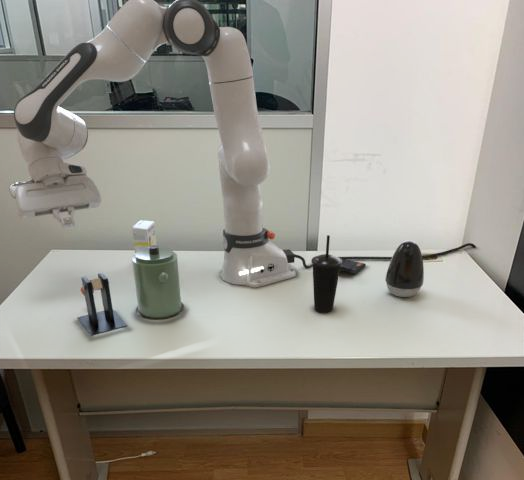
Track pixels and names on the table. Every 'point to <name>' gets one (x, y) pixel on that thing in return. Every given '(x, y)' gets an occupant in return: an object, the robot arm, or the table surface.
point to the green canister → (157, 283)
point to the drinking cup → (325, 280)
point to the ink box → (144, 234)
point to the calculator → (351, 266)
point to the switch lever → (94, 285)
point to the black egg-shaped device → (405, 270)
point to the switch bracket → (103, 319)
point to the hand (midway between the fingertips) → (68, 225)
